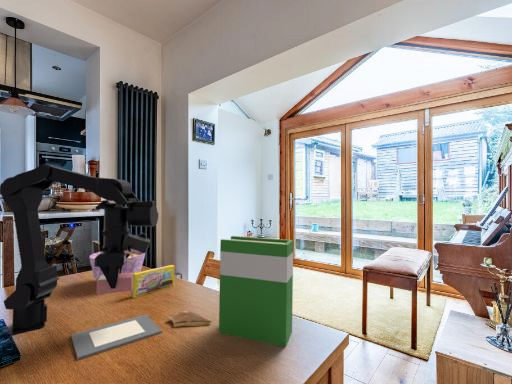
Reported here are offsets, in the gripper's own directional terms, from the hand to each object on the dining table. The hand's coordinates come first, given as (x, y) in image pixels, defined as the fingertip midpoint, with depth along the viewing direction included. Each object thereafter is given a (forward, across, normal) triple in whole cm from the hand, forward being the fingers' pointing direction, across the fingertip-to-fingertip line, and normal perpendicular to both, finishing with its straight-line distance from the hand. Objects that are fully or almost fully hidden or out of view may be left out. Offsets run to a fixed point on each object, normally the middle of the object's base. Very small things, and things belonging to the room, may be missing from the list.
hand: (115, 284), depth 70 cm
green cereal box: (+12, -14, -35) cm, 39 cm away
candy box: (+12, +26, -9) cm, 30 cm away
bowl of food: (+11, +40, +5) cm, 41 cm away
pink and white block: (+1, 0, 0) cm, 1 cm away
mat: (+11, -4, -1) cm, 12 cm away
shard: (+12, -1, -20) cm, 23 cm away
